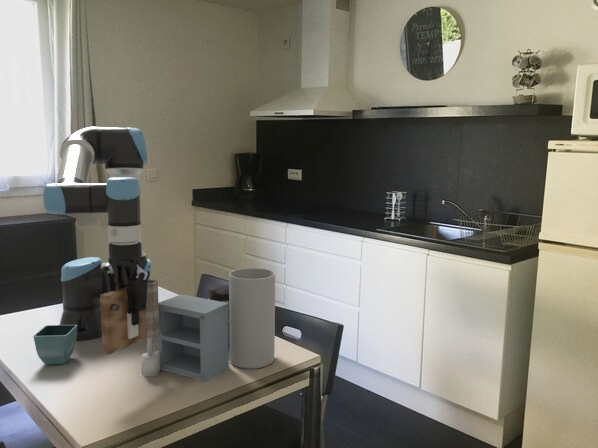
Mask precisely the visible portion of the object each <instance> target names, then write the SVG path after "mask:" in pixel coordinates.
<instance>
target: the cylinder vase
mask: <svg viewBox="0 0 598 448" xmlns="http://www.w3.org/2000/svg"><path fill="white" fill-rule="evenodd" d="M228 274H229V275H228V276H229V277H228V282H229V283H228V285H229V340H230V348H229V361H230V363H231V364H232V365H234V366H235V367H238V368H242V369H248V370H249V369H251V370H254V369H260V368H265V367H268V366H269V365H270V364H272V363H273V362H274V361H275V342H276V340H275V338H276V337H275V334H276V332H275V331H276V330H275V329H276V327H275V325H276V319H275V318H276V272H275V271H274V270H271V269H267V268H262V267H261V268H259V267H248V268H247V267H244V268H238V269H237V268H236V269H234V270H232V271H230V272H229V273H228Z"/></svg>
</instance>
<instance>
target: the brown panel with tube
mask: <svg viewBox="0 0 598 448" xmlns="http://www.w3.org/2000/svg"><path fill="white" fill-rule="evenodd" d="M100 303H101V326H102V336H101V343H102V345H101V346H102V353H105V354H108V355H111V354H113V353H115V352H118V351H120V350H123V349H126V348H128V347H129V346H132V345H134V344H136V343H138V342H141V341H143V340H147V338H152V337H153V338H155V337H156V338H157V336H158V335H159V307H158V303H159V282H158V280H157V279H151V278H150V280H148V283H147V299H146V308H145V309H143V310H141V311H139V324H138V336H136V337H134V338H131V339H128V326H127V313H128V312H127V311H130V310H129V302H128V295H127V287H124V288H121V289H118V290H114V291H111V292H108V293H104V294H101V295H100Z"/></svg>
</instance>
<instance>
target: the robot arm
mask: <svg viewBox="0 0 598 448" xmlns="http://www.w3.org/2000/svg"><path fill="white" fill-rule="evenodd" d="M145 140H146V139H145V136H144V133H143V131H142V129H140V128H137V127H129V126H121V127H120V126H87V127H84V128H80V129H79V130H76V131H74V132H73V133H72V134H69V136H67V137H66V138H65V139H64V140H63V142H62V143H61V145H60V150H59V156H60V159H61V161H60V162H61V163H60V167H59V169H58V175H57V179H56V182H54V183H47V184H45V185H44V186H43V191H42V192H43V194H42V195H43V196H42V197H43V206H44V211H45V212H46V213H47V214H49V215H50V214H51V215H73V214H75V215H77V214H79V215H80V214H107V233H108V234H107V235H108V241H109V242H110V243H109V244H108V256H107V257H108V258H107V259H108V261H102V259H101V257H98V256H94V257H93V256H90V257H89V256H88V257H83V258H78V259H74V260H71V261H69V262H67V263H65V264H64V265H62V267H61V270H60V271H61V274H60V275H61V276H60V281H61V289H62V290H61V292H62V313H61V317H60V321H59V322H60V323H59V325H77V338H76V341H83V340H84V341H85V340H90V339H95V338H98V337H102V326H101V303H100V295H101V294H104V293H108V292H111V291H114V290H118V289H121V288H124V287H127V295H128V302H129V310H130V311H127V312H128V313H127V326H128V339H131V338H134V337H136V336H138V324H139V311H141V310H143V309H145V308H146V299H147V283H148V280H150V279H151V272H152V270H151V269H152V261H151V259H149V258H147V253H146V252H145V251H143V249H142V246H143V245H142V225H141V223H142V222H141V188H140V175H141V174H142V172H143V171H144V166H146V165H147V164H148V163H149V162H148V161H149V160H148V152H147V147H146V146H147V144H146V141H145ZM91 165H104V170H105V171H106V172H107V174H108V175H109V178H107V180H106V182H103V183H101V182H100V183H99V182H96V183H94V182H91V183H90V182H89V178H90V169H91V168H90V166H91Z"/></svg>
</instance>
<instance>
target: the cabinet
mask: <svg viewBox="0 0 598 448" xmlns="http://www.w3.org/2000/svg"><path fill="white" fill-rule="evenodd" d="M158 307H159V335H158V336H156V341H157V345H156V349H157V350H156V351H154V343H153V342H154V341H153V338H154V337H152V338H146V351H147V352H145V353H142V354H141V357H140V358H141V376H143V377H144V378H145V377H146V378H153V377H155V376H158V375H160V370H162V371H166V372H170V373H173V374H177V375H180V376H184V377H188V378H190V379H195V380H197V381H198V380H199V381H202V382H208V381H209V380H211V379H213V378H214V377H216V376H217V375H219V374H220V373H221V372H223V371H225V370H227V369H229V367H230V366H229V365H230V363H229V361H230V348H229V329H228V303H225V302H220V301H214V300H209V299H208V298H203V297H197V296H193V295H186V294H178V295H176V296H173V297H171V298H166V299H165V300H162V301H158Z"/></svg>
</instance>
